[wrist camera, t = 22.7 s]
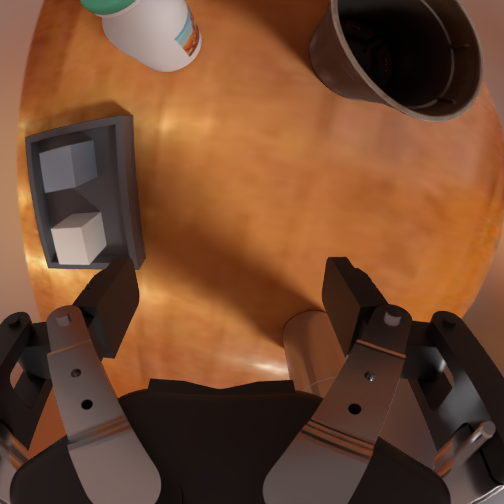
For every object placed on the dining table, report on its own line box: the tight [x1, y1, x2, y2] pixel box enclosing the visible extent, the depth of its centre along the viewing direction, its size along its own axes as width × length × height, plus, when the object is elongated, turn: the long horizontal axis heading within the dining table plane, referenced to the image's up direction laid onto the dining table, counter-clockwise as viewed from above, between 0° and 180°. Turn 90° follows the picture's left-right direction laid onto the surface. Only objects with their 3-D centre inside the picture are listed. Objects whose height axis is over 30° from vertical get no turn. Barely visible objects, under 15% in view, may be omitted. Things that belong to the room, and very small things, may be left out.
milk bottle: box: [80, 0, 202, 72], centre depth 19 cm, size 8×8×20 cm
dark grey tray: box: [25, 115, 146, 270], centre depth 34 cm, size 20×16×4 cm
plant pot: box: [309, 0, 484, 122], centre depth 22 cm, size 16×16×16 cm
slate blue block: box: [39, 140, 98, 193], centre depth 29 cm, size 5×5×6 cm
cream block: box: [51, 212, 107, 265], centre depth 34 cm, size 5×5×6 cm
